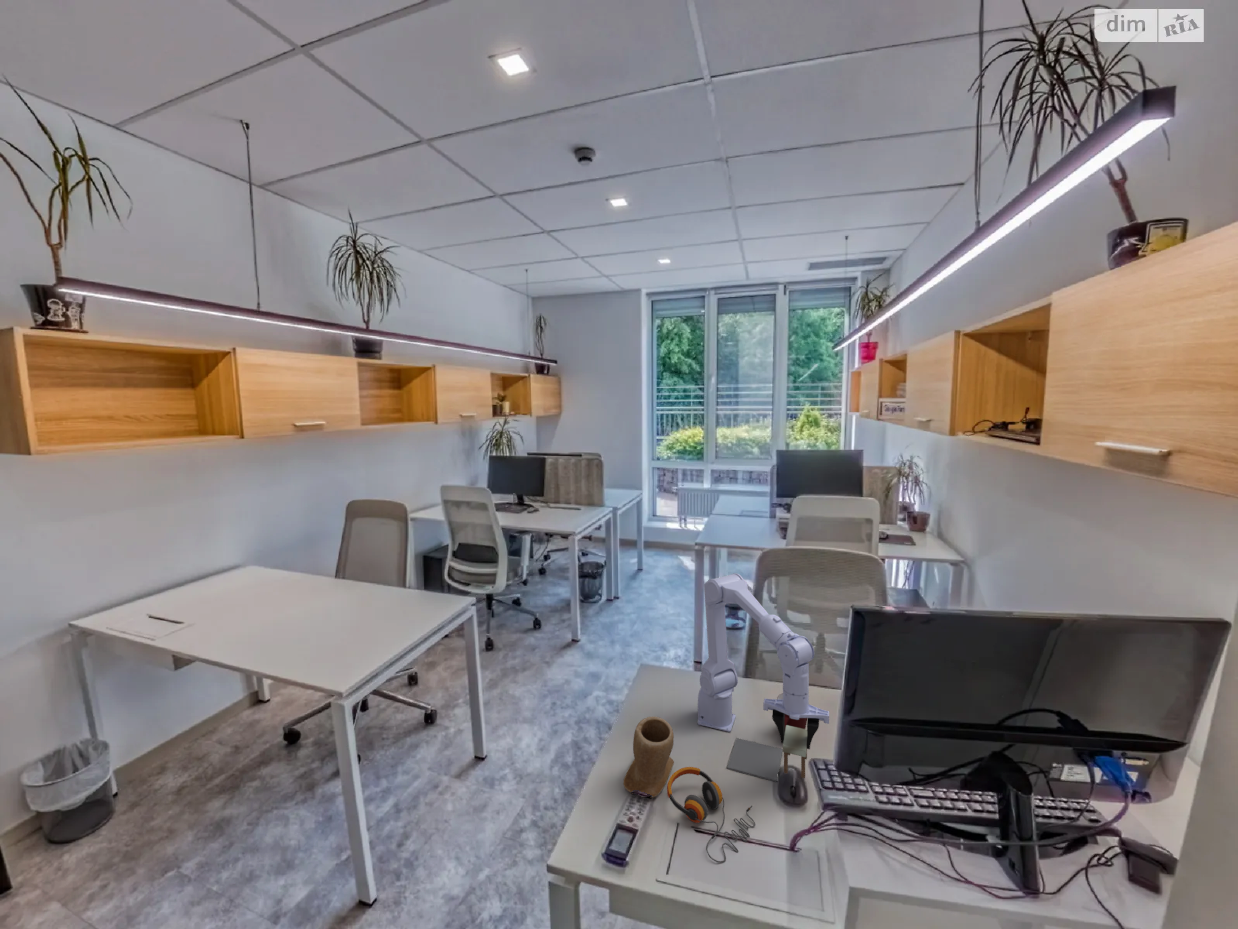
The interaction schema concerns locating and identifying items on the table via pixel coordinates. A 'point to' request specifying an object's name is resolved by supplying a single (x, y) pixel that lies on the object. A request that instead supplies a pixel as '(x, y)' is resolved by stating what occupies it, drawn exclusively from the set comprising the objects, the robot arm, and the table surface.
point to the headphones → (698, 808)
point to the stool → (795, 746)
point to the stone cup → (650, 756)
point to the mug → (793, 722)
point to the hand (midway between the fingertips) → (795, 743)
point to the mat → (755, 759)
